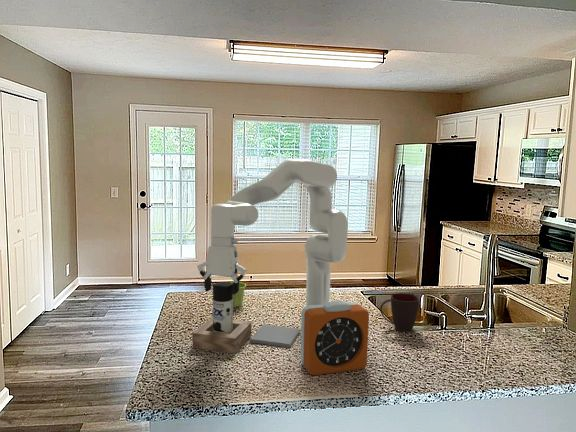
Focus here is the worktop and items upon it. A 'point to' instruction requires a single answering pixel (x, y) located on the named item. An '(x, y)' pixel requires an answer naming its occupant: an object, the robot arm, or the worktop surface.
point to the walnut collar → (221, 337)
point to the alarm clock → (334, 337)
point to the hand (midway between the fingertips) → (221, 292)
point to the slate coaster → (275, 335)
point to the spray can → (222, 307)
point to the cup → (403, 310)
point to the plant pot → (239, 295)
